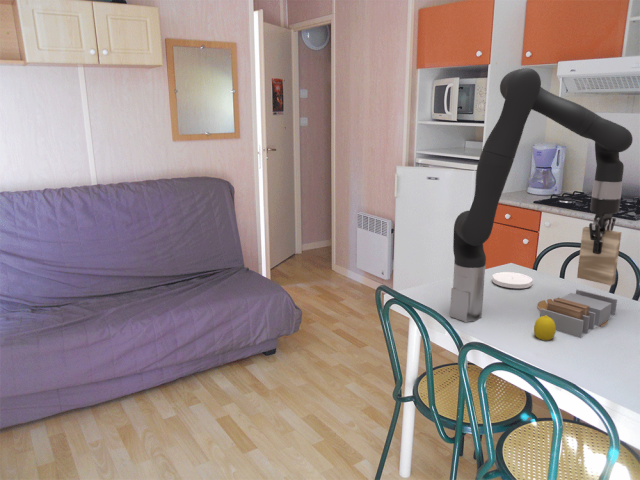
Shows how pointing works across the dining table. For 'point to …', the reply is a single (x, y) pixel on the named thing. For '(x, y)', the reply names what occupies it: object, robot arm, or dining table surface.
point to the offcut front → (565, 310)
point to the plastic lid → (512, 280)
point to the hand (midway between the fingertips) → (598, 252)
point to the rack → (598, 314)
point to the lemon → (544, 328)
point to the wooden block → (599, 258)
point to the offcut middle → (574, 305)
